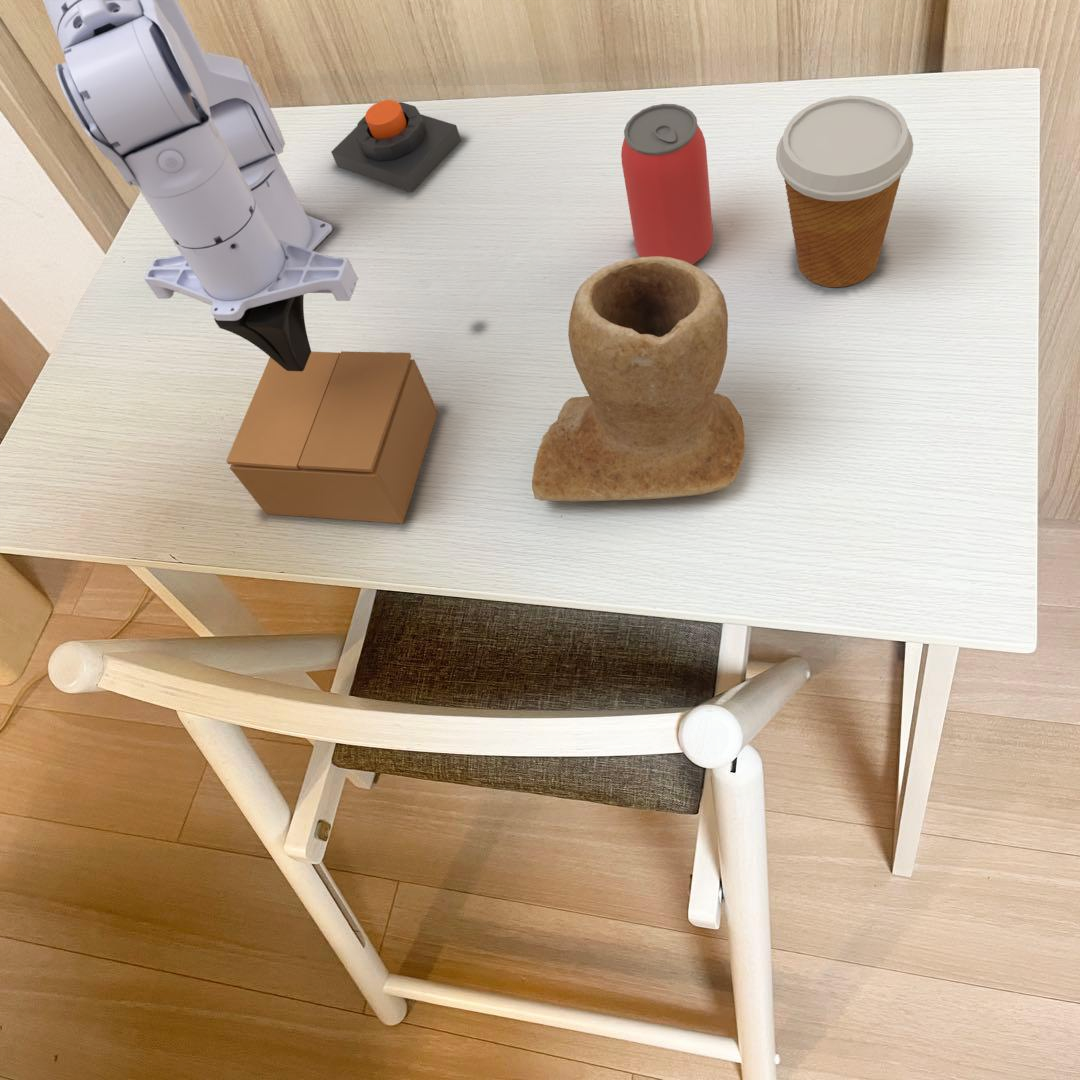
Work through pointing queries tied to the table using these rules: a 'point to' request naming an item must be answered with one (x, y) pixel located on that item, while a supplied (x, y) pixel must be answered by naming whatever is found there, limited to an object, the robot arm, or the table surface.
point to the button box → (398, 150)
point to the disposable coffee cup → (842, 184)
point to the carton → (355, 445)
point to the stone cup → (644, 390)
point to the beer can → (667, 183)
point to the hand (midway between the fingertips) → (299, 360)
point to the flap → (282, 413)
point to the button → (385, 119)
